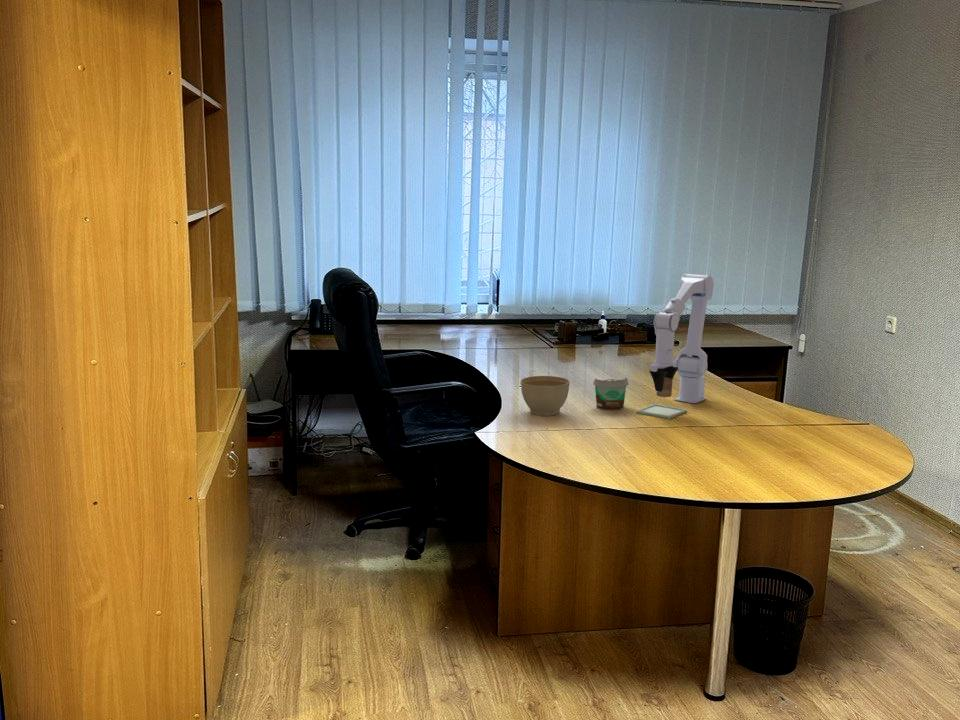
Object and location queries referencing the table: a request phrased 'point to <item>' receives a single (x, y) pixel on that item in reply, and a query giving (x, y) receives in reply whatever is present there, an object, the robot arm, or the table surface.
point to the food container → (610, 393)
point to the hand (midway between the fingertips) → (662, 389)
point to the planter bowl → (545, 394)
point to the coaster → (661, 411)
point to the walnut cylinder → (666, 388)
